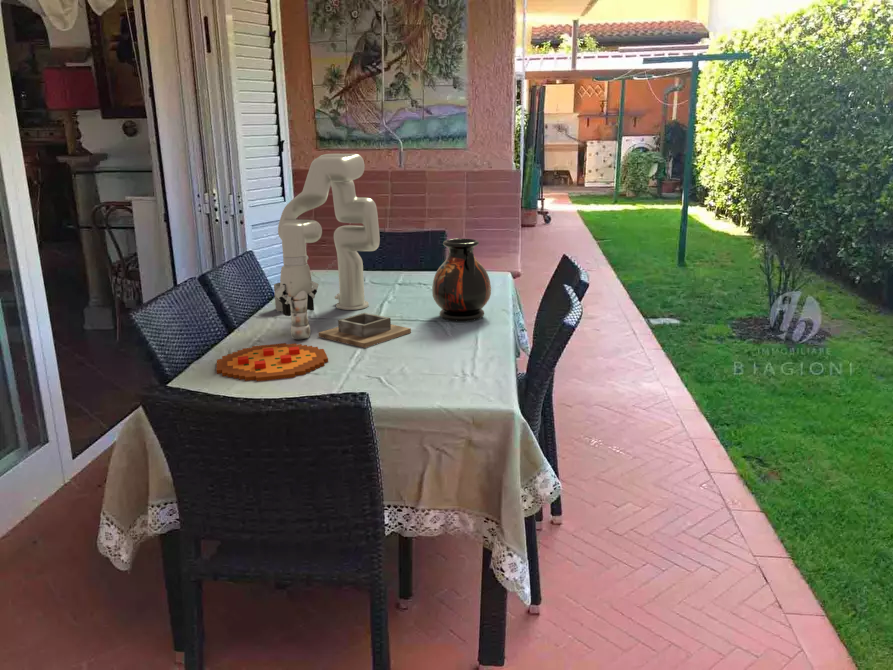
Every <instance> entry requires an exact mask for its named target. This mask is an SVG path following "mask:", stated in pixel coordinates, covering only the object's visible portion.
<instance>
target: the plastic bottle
mask: <svg viewBox="0 0 893 670" xmlns="http://www.w3.org/2000/svg"><path fill="white" fill-rule="evenodd" d="M307 301H308V295H307V293H306V292H305V291H301V292H299V293H298V294H297V296H296V297H292V298H291V299H290V301H289V304H290V308H291V316H290V317H291V323H290V324H291V326H290V334H291V335H290V336H291V337H292V339H294V340H305V339H309V337H310V336H311V332H312V331H311V326H310V324H309V323H310V322H309V317H308V310H307Z"/></svg>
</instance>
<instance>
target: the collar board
mask: <svg viewBox="0 0 893 670" xmlns="http://www.w3.org/2000/svg"><path fill="white" fill-rule="evenodd" d="M337 324H338V325H337V326H336V327H333V328H329V329H326V330H323V331H322V330H321V331H319V332H317V333H318V338H321V339H326V340H330V341H335V342H339V343H343V344H346V345H350V346H351V345H352V346H355V347H359V348H363V349H364V348H365V349H366V348H368V347H369V348H370V347H372V346H375V345H378V344H380V343H384V342H387V341H390V340H392V339H393V340H394V339H395V338H398V337H402V336H405V335H407V334H408V335H409V334H411V333H412V328H410V327H405V326H401V325H395V324H392V323H391V317H387V316H384V315H383V316H382V315H377V314H373V313H367V312H362V313H358V314H355V315H352V316H351V315H350V316H348V317H345V318H341V319H337ZM377 343H378V344H377ZM374 344H375V345H374Z"/></svg>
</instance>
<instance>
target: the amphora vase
mask: <svg viewBox="0 0 893 670" xmlns="http://www.w3.org/2000/svg"><path fill="white" fill-rule="evenodd" d="M479 244H480V242H479V240H477V239H474V238H451V239H446V240H444V241H443V243H442V245H443V246H444V247H447V248H448V255H447V258H446V259H445V260H444V262H443V263H442V264H441V265H440V266H438V269H437V270H436V272H435V274H434V277H433V280H432V286H431V287H432V289H431V291H432V292H431V293H432V297H433V301H434V302H435V304H436V305H437V306H438V307H439V308H440V309H441V310H440V311H439V317H441V318H442V319H443V320H446V321H450V322H472V321H477V320H480V319H481V318H483V317H484V315H485V311H484V310H483V308H484V307H485V306H486V305H487V303H488V302H489V300H490V298H491V296H492V285H491V280H490V277H489V275H488V272H487V269H486V268H485V267H484V266H483V265H482V263H481V262H480V261H478V259H477V258H476V257H475V255H474V248H475V247H478V245H479Z"/></svg>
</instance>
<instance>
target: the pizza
mask: <svg viewBox="0 0 893 670" xmlns="http://www.w3.org/2000/svg"><path fill="white" fill-rule="evenodd" d="M325 363H329V358H328V356H327V353H326V351H325V349H324V348H319V346H313V345H307V344H303V345H302V344H301V343H299V344H297V343H286V342H283V343H281V342H280V343H269V344H262V345H252V346H251V347H245V348H244V347H243V348H241V349H237V351H232V352H231V353H228V354H227V355H222V356H221V358H219V359H218V358H217V359H216V375H220V374H221V375H222V378H223V377H227V378H228V379H229V378H233V379H234V380H235V379H239V381H241V380H242V381H243V380H244V381H245V382H248V381H256V382H265V381H275V380H282V379H291V378H292V379H293V378H296V376H304V375H306V374H307V373H311V371H316V369H320V368H321V367H325Z"/></svg>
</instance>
